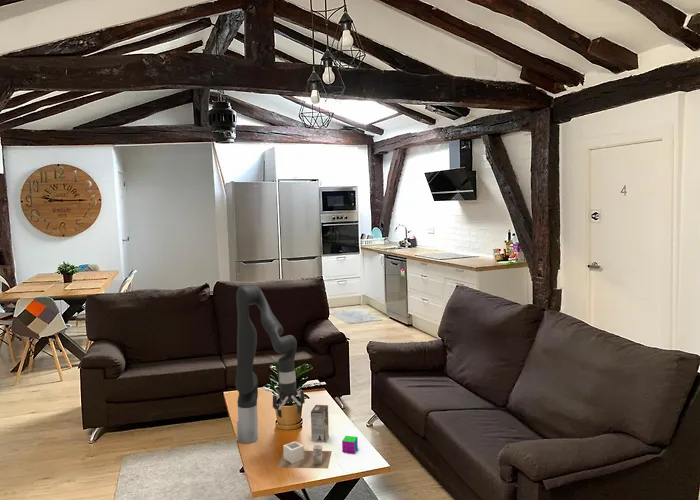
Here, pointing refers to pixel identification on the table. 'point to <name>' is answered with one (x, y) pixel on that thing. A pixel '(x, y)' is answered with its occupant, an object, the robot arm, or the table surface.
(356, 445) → the puzzle toy
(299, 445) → the hollow square box
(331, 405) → the table surface
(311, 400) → the table surface
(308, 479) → the table surface
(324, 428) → the coffee box
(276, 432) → the table surface
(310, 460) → the post board
